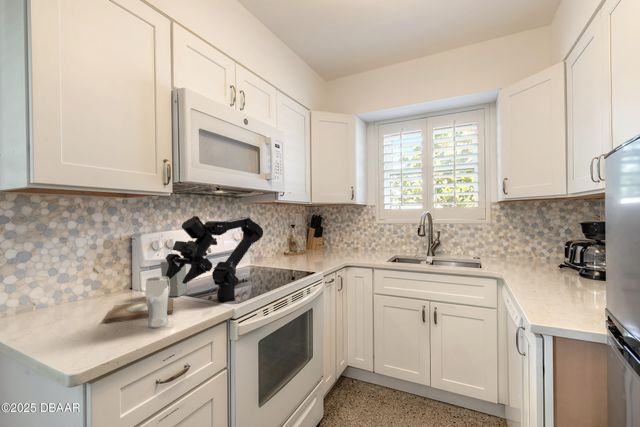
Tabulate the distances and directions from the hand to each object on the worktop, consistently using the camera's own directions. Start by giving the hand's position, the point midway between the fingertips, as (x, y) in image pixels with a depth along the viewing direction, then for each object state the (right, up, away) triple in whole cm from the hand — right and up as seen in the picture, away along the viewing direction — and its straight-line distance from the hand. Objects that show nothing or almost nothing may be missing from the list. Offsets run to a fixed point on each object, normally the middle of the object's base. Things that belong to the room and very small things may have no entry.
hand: (174, 281), depth 99 cm
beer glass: (-2, -13, -5) cm, 14 cm away
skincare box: (-15, -13, +30) cm, 36 cm away
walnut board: (-15, -13, +7) cm, 21 cm away
